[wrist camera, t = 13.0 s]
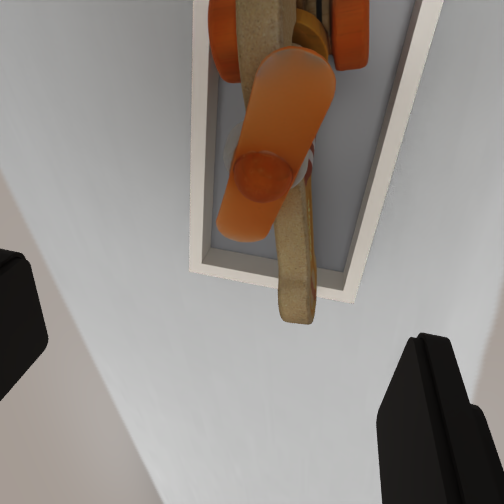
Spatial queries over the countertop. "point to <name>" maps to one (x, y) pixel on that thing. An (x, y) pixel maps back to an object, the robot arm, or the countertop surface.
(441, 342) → the robot arm
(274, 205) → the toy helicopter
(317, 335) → the countertop surface
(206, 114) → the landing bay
